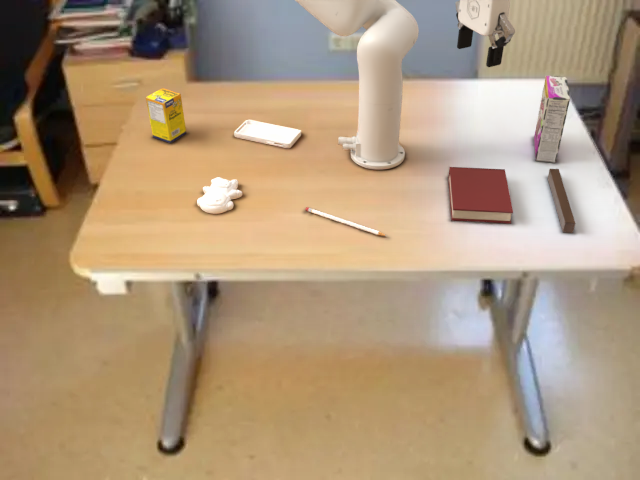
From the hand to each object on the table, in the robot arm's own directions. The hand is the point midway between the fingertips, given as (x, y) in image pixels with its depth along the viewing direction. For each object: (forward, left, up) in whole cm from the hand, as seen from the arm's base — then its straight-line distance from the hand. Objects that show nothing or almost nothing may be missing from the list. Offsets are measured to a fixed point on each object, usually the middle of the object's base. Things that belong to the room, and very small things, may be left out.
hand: (478, 56), depth 141 cm
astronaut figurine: (-52, -13, -28) cm, 61 cm away
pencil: (-25, -21, -28) cm, 43 cm away
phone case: (-46, +14, -28) cm, 56 cm away
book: (+3, -9, -28) cm, 30 cm away
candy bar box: (+20, +13, -28) cm, 37 cm away
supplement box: (-70, +12, -28) cm, 77 cm away
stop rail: (+20, -9, -28) cm, 36 cm away
